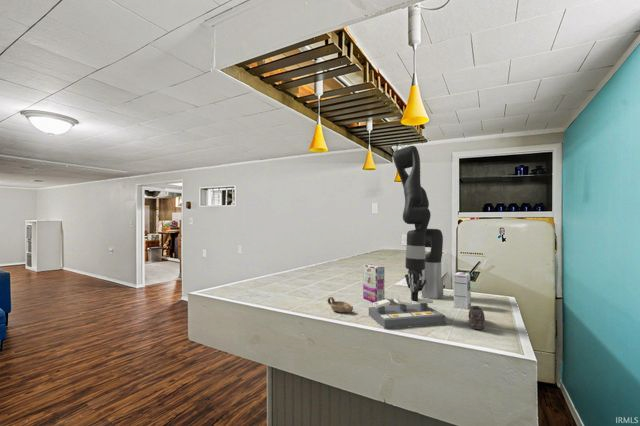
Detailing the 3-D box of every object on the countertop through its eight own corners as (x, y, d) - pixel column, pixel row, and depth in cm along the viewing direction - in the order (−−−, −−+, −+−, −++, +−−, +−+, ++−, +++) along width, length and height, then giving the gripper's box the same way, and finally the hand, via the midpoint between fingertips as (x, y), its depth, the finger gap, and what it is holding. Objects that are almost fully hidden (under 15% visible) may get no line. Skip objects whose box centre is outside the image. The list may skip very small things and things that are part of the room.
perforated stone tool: (469, 318, 125) (469, 300, 125) (484, 320, 122) (484, 302, 122) (467, 331, 111) (467, 310, 111) (484, 333, 109) (484, 313, 109)
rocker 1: (386, 301, 126) (386, 298, 126) (390, 303, 123) (390, 301, 123) (372, 305, 125) (372, 302, 125) (376, 308, 122) (375, 305, 122)
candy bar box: (385, 302, 147) (385, 266, 147) (376, 304, 145) (375, 267, 145) (371, 297, 157) (371, 263, 157) (362, 298, 155) (362, 264, 155)
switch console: (422, 310, 134) (422, 298, 134) (445, 323, 119) (445, 309, 119) (368, 314, 129) (368, 302, 129) (384, 328, 114) (384, 314, 114)
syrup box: (467, 309, 136) (467, 275, 136) (453, 306, 140) (453, 273, 140) (471, 306, 141) (470, 273, 141) (456, 303, 144) (456, 271, 144)
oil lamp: (357, 312, 133) (357, 300, 133) (345, 316, 128) (344, 304, 128) (334, 306, 142) (334, 294, 142) (322, 309, 137) (322, 297, 137)
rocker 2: (428, 300, 130) (428, 298, 130) (432, 303, 127) (433, 300, 127) (414, 300, 129) (414, 298, 129) (419, 303, 125) (419, 300, 125)
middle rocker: (407, 303, 128) (407, 300, 128) (411, 305, 125) (412, 303, 125) (393, 301, 127) (394, 298, 127) (397, 303, 124) (398, 300, 124)
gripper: (433, 259, 121) (432, 305, 121) (415, 255, 134) (414, 296, 134) (415, 259, 120) (413, 305, 120) (399, 254, 133) (398, 296, 133)
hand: (414, 300), depth 127 cm, fingers closed
